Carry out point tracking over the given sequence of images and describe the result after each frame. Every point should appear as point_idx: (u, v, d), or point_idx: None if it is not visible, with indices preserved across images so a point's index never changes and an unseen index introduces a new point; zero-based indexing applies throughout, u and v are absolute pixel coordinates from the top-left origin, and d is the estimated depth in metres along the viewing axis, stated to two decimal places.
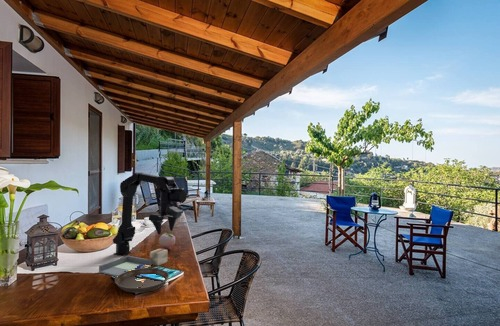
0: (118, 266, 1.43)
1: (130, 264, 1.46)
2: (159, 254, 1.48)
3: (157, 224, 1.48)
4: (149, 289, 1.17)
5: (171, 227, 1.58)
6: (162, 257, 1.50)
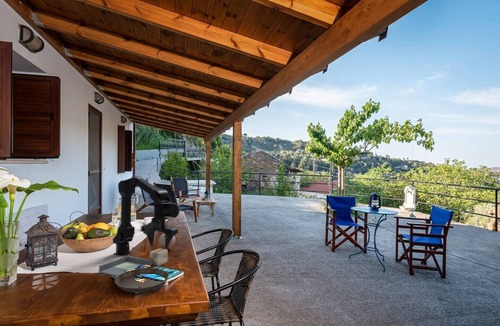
0: (118, 266, 1.43)
1: (130, 264, 1.46)
2: (159, 254, 1.48)
3: None
4: (149, 289, 1.17)
5: None
6: (162, 257, 1.50)
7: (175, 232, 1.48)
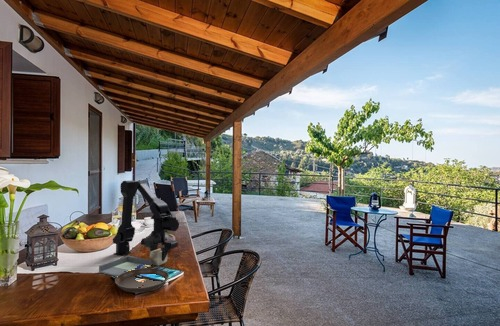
0: (118, 266, 1.43)
1: (130, 264, 1.46)
2: (159, 254, 1.48)
3: None
4: (149, 289, 1.17)
5: None
6: None
7: (175, 245, 1.48)
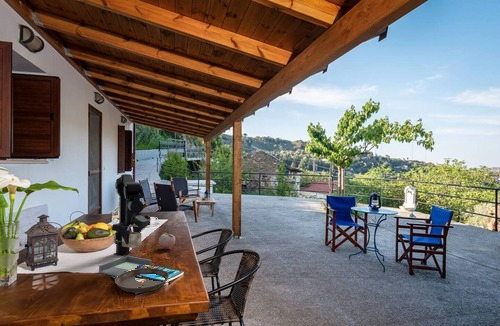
0: (118, 266, 1.43)
1: (130, 264, 1.46)
2: None
3: (124, 234, 1.41)
4: (149, 289, 1.17)
5: None
6: None
7: None
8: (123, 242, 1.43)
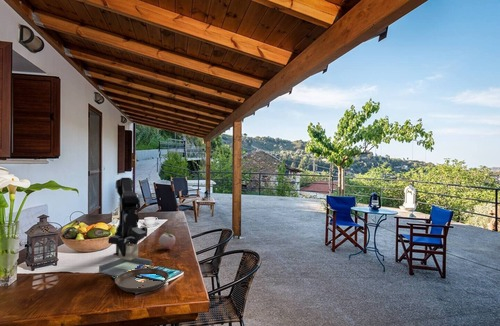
0: (118, 266, 1.43)
1: (130, 264, 1.46)
2: None
3: (121, 246, 1.40)
4: (149, 289, 1.17)
5: None
6: None
7: None
8: (120, 254, 1.42)
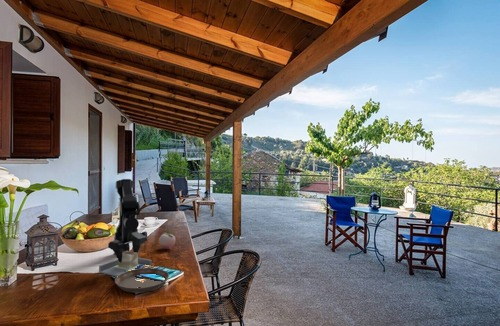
0: (118, 266, 1.43)
1: None
2: None
3: (118, 252, 1.38)
4: (149, 289, 1.17)
5: None
6: None
7: None
8: (119, 262, 1.42)
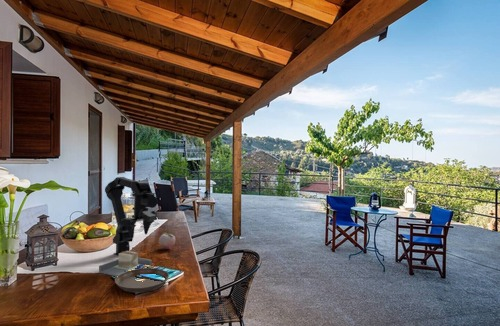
0: (118, 266, 1.43)
1: None
2: None
3: (130, 228, 1.51)
4: (149, 289, 1.17)
5: (146, 231, 1.60)
6: None
7: None
8: (119, 262, 1.42)
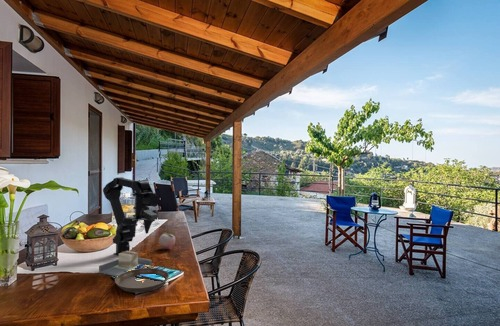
0: (118, 266, 1.43)
1: None
2: None
3: (131, 227, 1.52)
4: (149, 289, 1.17)
5: (146, 230, 1.62)
6: None
7: None
8: (119, 262, 1.42)
